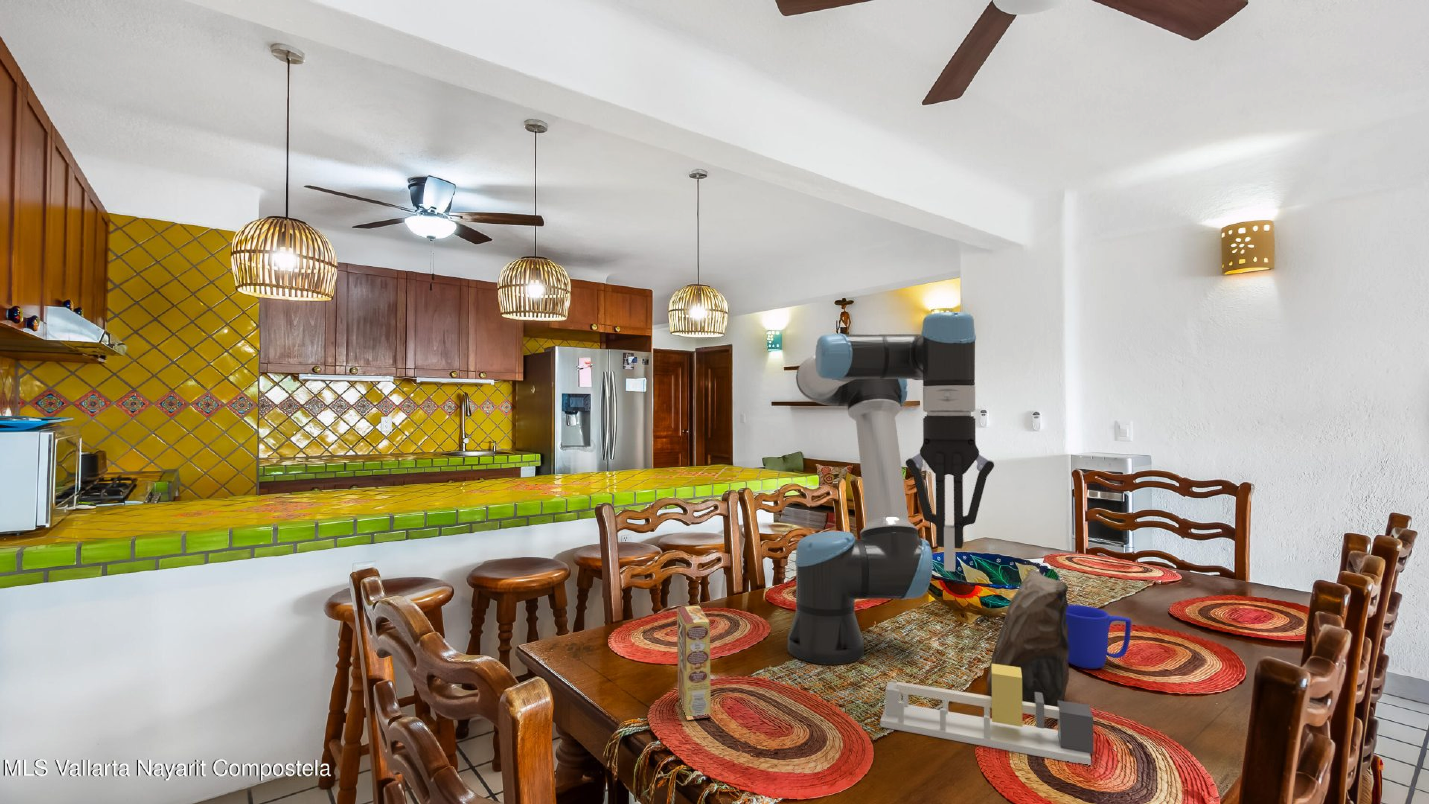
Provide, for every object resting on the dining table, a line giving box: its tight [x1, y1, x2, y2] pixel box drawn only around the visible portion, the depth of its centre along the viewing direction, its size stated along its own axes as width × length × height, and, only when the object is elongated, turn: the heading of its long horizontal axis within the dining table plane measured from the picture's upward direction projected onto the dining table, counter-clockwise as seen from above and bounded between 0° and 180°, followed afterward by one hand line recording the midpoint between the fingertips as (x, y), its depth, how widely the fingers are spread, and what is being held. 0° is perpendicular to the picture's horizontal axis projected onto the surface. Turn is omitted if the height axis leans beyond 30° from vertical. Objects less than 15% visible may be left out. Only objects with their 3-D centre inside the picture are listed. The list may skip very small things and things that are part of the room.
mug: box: [1066, 604, 1132, 670], centre depth 122 cm, size 8×12×10 cm
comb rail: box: [879, 681, 1094, 766], centre depth 96 cm, size 28×7×7 cm, turn 67°
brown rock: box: [986, 569, 1070, 707], centre depth 109 cm, size 13×13×20 cm
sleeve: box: [991, 664, 1023, 727], centre depth 94 cm, size 4×4×7 cm
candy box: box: [676, 605, 712, 716], centre depth 104 cm, size 9×4×15 cm, turn 13°
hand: (949, 568), depth 98 cm, fingers closed
